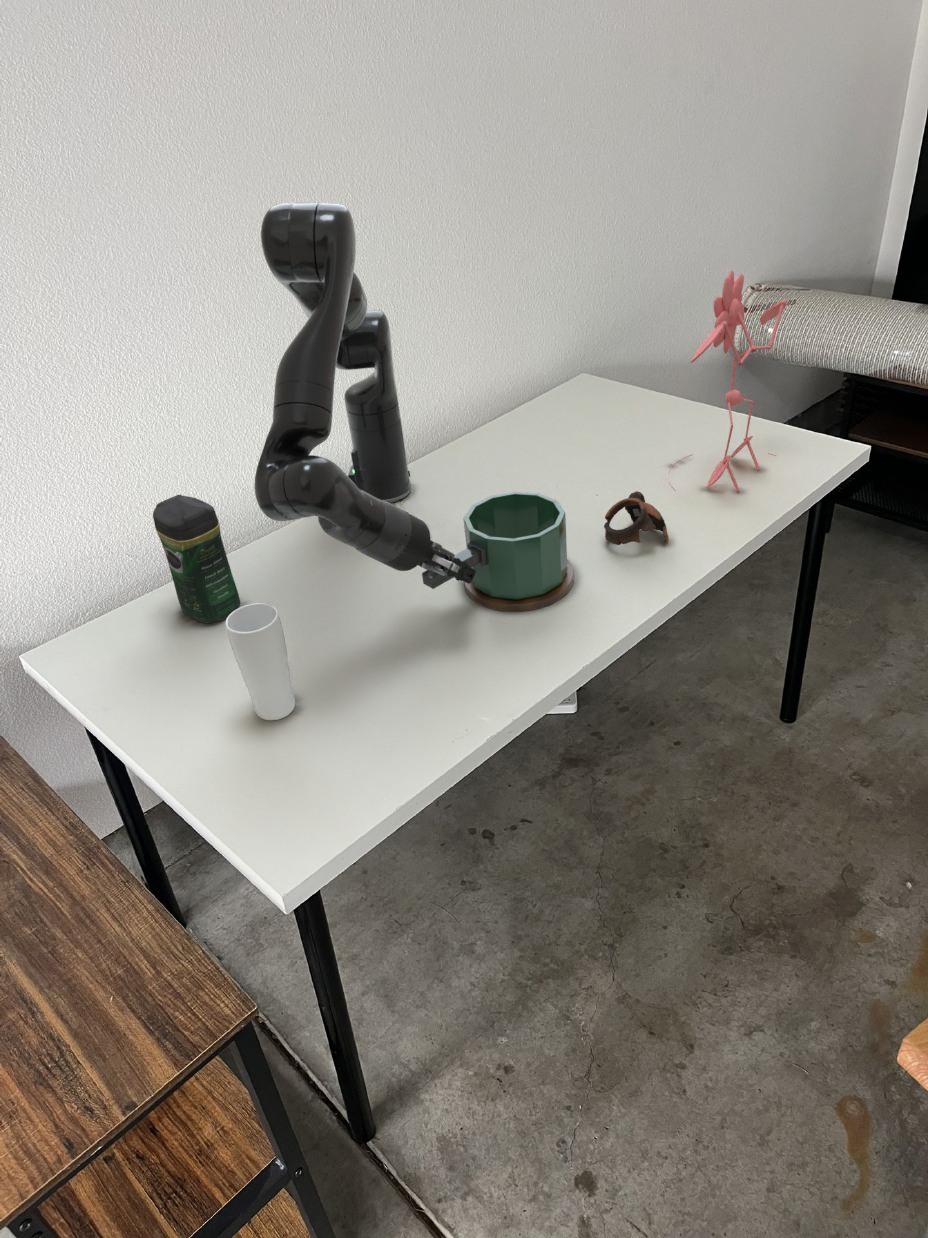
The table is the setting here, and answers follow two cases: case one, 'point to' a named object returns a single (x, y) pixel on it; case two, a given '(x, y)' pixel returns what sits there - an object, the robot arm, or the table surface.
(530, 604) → the disc
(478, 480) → the table surface
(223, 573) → the coffee jar
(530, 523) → the pot
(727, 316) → the figurine
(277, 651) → the drinking glass
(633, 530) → the brown ring-shaped piece
